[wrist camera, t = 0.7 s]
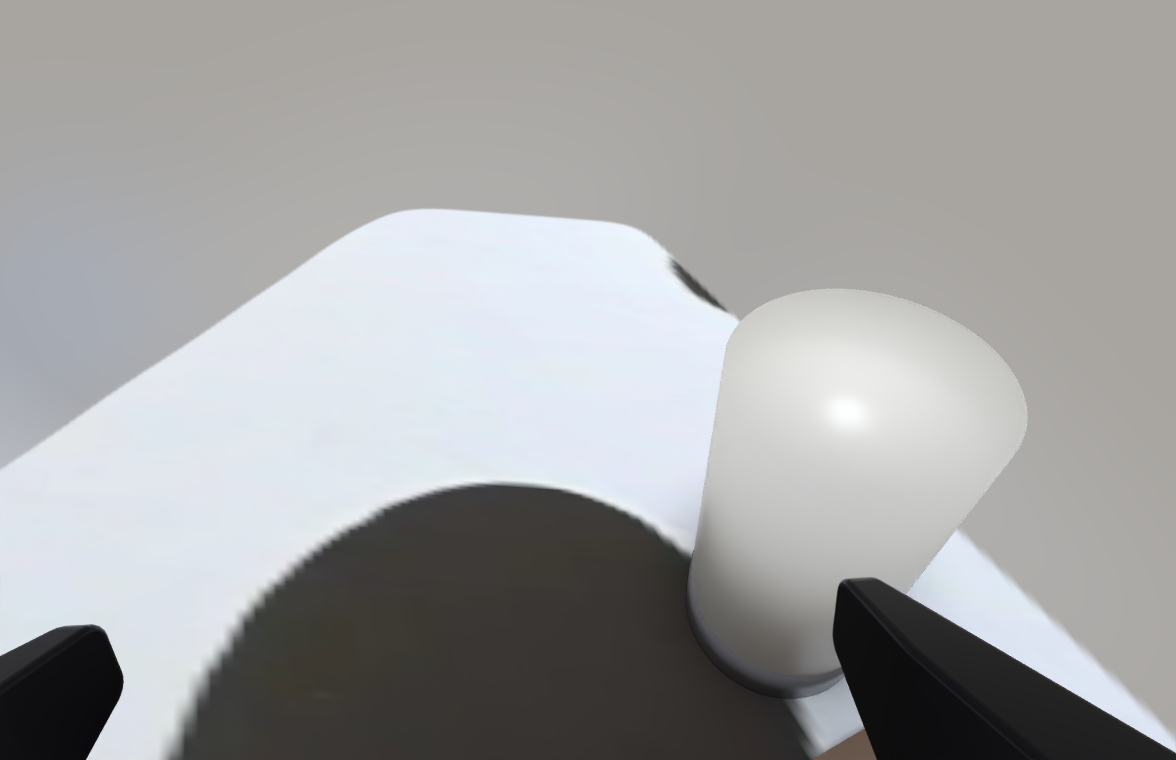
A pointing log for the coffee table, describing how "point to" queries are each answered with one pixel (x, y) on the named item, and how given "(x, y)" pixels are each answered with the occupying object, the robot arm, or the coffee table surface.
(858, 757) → the walnut board
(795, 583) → the white cylinder
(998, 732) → the robot arm
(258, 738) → the coffee table surface
